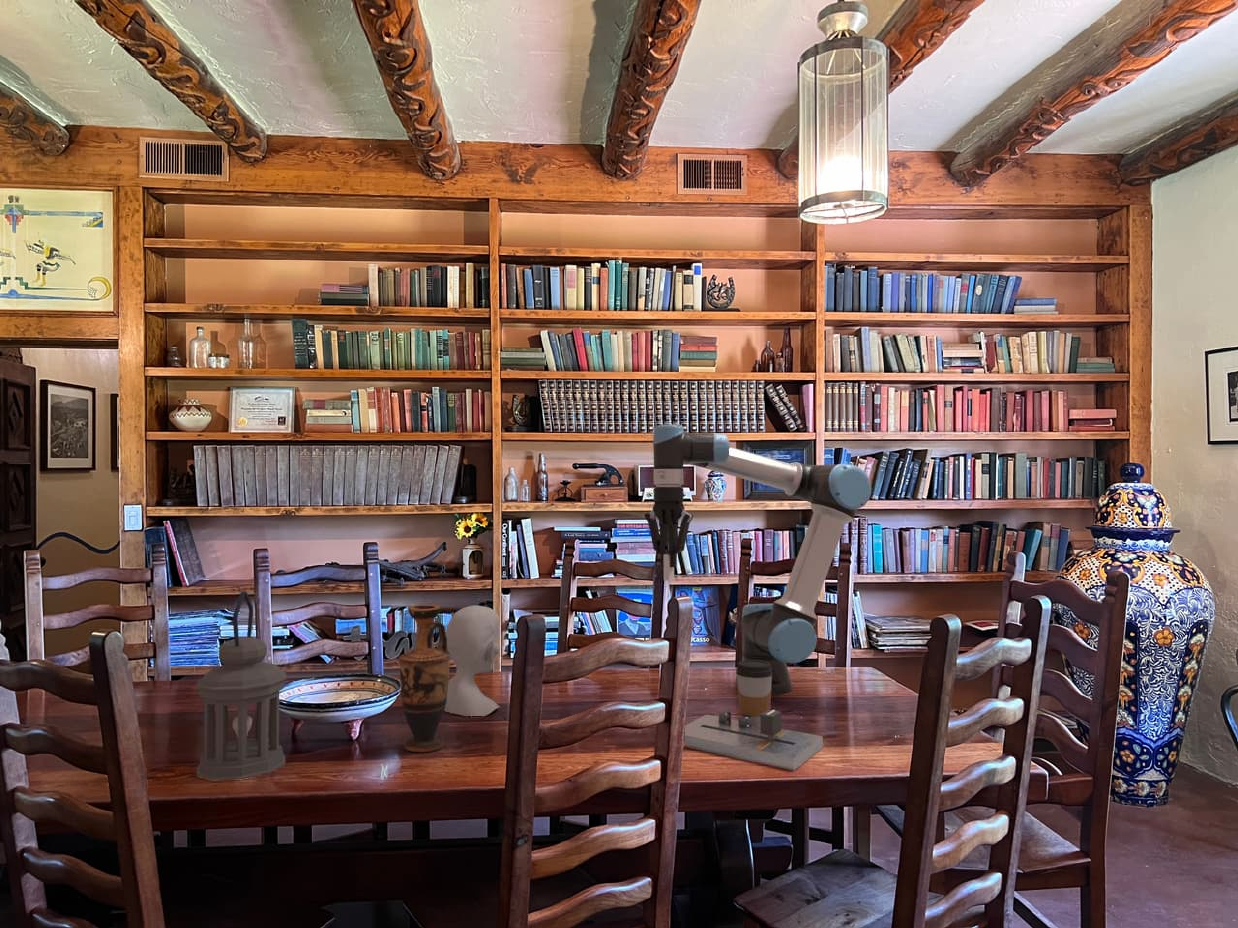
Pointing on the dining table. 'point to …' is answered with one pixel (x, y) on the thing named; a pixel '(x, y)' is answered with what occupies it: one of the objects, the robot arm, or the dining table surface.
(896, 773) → the dining table surface
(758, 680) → the coffee cup
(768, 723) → the fader
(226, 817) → the dining table surface
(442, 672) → the vase
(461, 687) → the head bust
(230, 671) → the lantern
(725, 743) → the console
